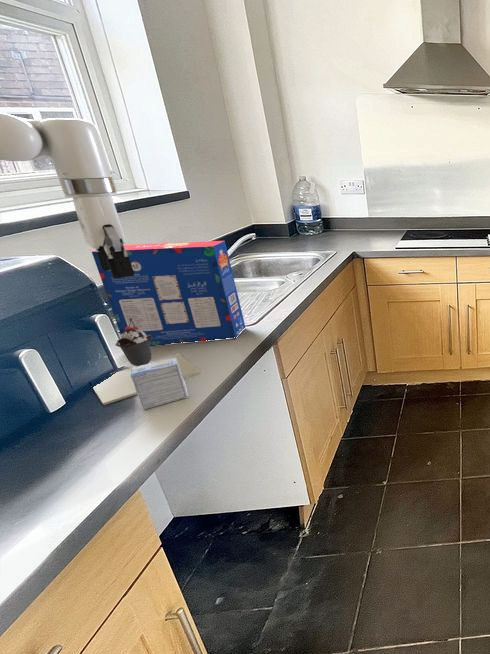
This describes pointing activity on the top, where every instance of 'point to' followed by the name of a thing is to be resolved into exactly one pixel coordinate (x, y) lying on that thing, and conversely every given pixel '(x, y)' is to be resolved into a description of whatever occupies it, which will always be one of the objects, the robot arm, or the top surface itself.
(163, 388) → the medicine box
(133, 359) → the sundae
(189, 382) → the top surface
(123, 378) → the mat
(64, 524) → the top surface
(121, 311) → the pasta box
